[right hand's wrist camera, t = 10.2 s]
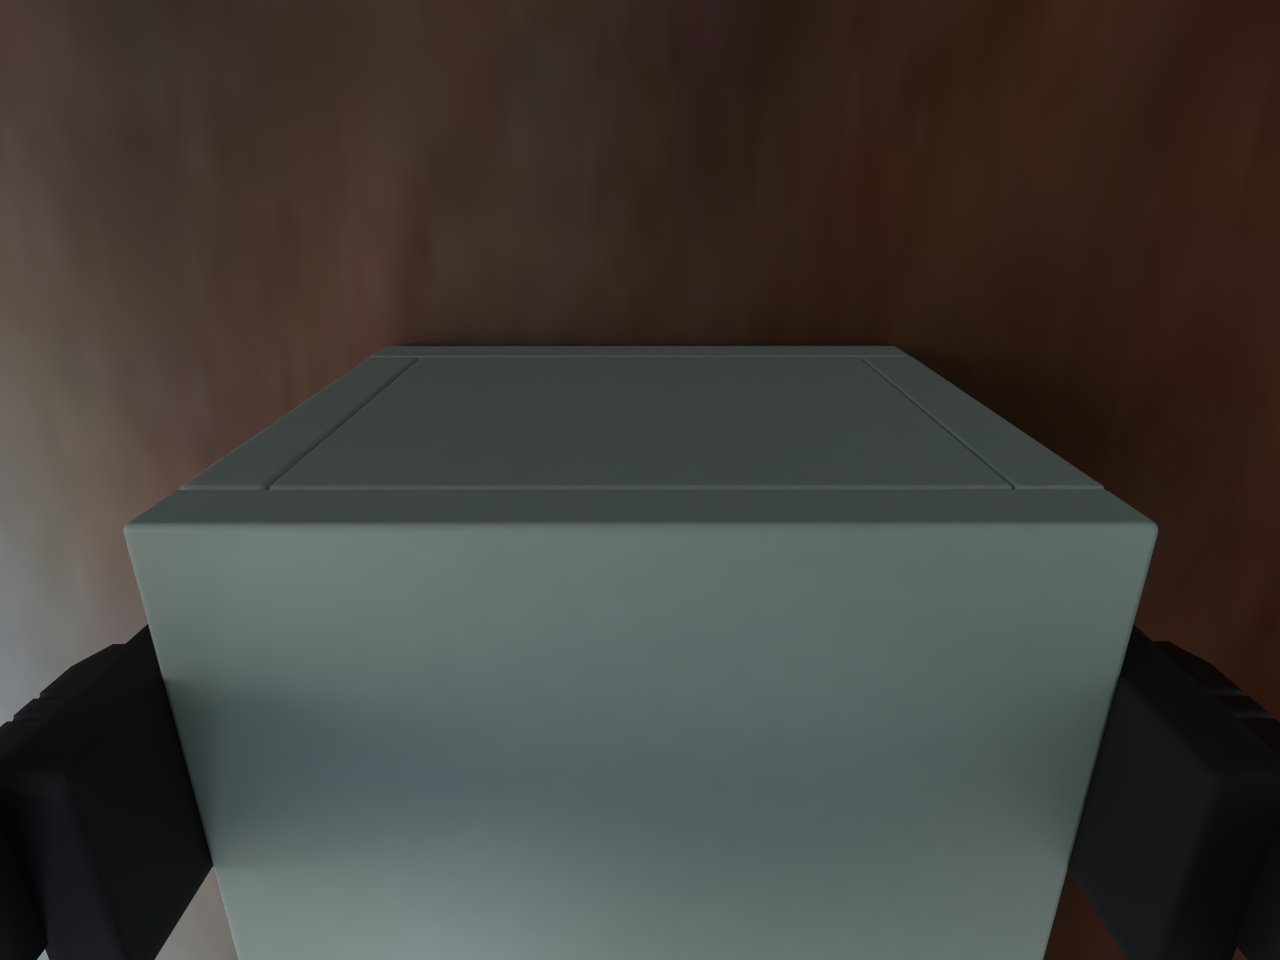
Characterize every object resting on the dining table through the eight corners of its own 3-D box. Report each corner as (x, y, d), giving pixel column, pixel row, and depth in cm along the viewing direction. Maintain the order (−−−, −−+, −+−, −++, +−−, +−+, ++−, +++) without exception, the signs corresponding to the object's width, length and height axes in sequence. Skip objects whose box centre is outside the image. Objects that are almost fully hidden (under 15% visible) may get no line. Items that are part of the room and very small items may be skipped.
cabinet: (810, 1052, 23) (898, 1503, 15) (469, 1052, 23) (383, 1504, 15) (896, 345, 15) (1163, 524, 8) (383, 345, 15) (116, 525, 8)
